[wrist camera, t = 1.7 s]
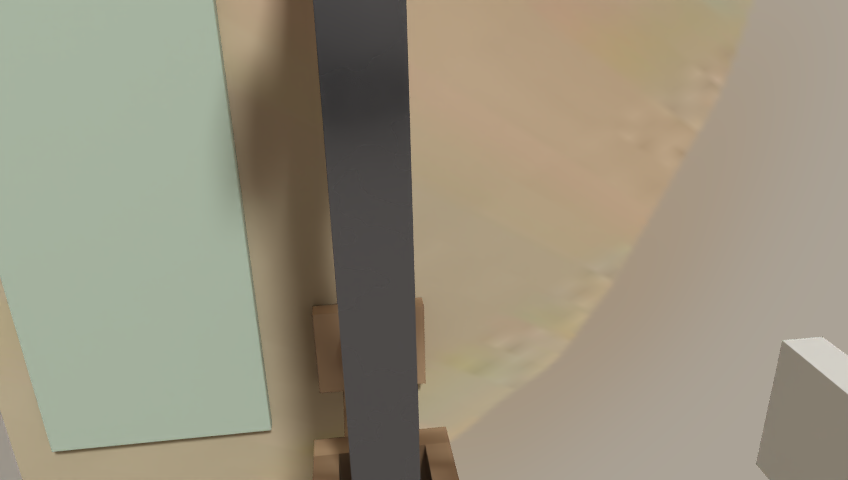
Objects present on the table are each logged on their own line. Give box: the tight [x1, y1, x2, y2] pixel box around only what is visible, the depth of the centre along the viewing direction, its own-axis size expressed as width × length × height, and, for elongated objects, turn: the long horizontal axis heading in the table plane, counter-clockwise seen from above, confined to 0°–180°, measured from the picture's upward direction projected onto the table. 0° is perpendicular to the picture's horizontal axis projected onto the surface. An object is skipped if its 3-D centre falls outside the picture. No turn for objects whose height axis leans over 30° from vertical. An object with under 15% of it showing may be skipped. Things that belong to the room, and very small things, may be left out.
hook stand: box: [312, 298, 459, 480], centre depth 26 cm, size 6×29×14 cm, turn 1°
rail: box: [313, 0, 420, 480], centre depth 21 cm, size 2×30×2 cm, turn 1°
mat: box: [0, 0, 272, 452], centre depth 31 cm, size 12×34×1 cm, turn 1°
